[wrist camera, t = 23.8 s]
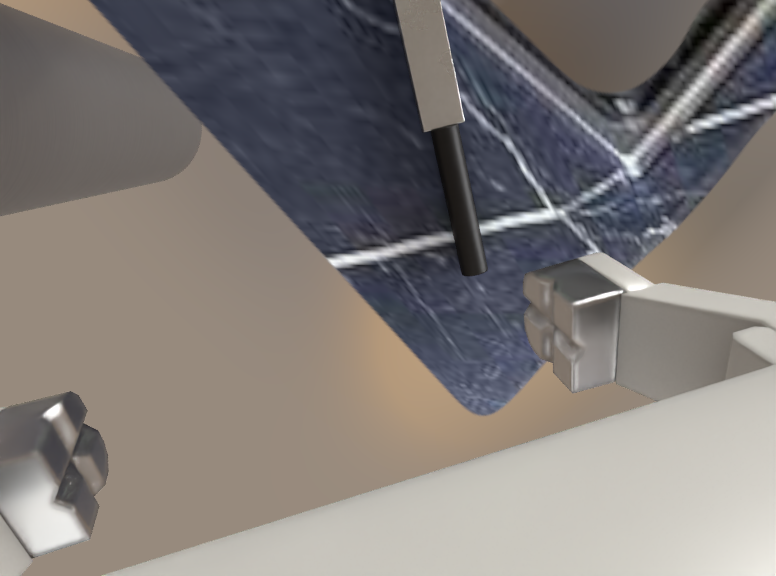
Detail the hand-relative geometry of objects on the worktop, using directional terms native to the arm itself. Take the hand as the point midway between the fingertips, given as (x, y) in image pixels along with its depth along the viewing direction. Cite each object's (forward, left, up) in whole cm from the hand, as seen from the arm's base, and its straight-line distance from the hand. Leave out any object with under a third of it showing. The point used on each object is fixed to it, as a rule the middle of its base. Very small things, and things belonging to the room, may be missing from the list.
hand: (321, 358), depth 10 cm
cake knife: (+2, +9, -32) cm, 33 cm away
